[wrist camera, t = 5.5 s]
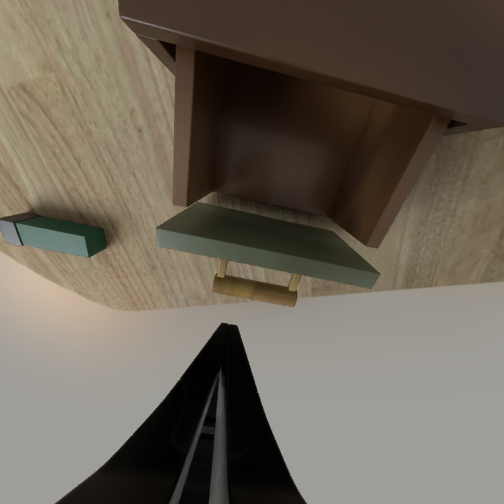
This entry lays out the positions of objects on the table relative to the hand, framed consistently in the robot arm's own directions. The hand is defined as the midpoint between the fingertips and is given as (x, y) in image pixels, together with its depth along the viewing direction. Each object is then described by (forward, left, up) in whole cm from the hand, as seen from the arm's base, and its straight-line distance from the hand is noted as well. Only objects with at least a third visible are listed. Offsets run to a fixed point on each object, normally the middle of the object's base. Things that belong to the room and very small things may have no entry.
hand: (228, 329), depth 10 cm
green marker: (+14, +13, -12) cm, 23 cm away
